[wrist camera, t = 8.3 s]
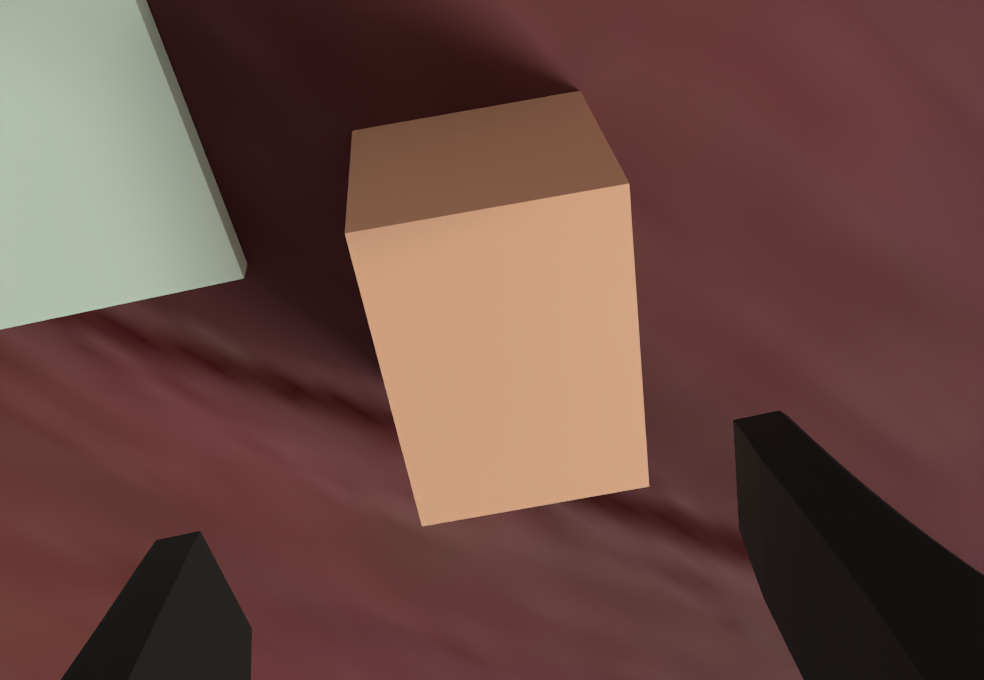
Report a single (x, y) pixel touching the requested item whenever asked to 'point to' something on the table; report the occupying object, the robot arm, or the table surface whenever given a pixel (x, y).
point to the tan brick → (502, 304)
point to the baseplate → (99, 166)
